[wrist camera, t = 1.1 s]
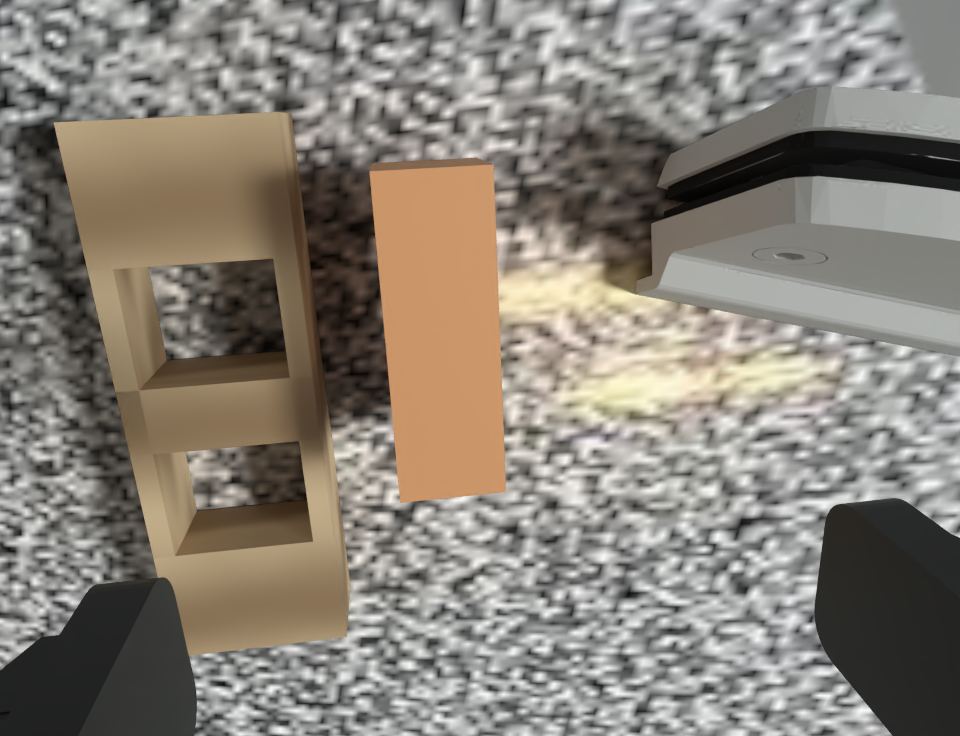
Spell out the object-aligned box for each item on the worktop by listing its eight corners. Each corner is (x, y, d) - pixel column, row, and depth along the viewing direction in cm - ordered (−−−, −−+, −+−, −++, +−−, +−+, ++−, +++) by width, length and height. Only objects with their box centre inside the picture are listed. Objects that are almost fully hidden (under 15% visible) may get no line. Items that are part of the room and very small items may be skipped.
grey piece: (625, 292, 26) (791, 241, 16) (643, 166, 27) (819, 42, 17) (1006, 365, 29) (1339, 359, 20) (1020, 251, 30) (1357, 189, 20)
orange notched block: (374, 158, 24) (369, 171, 17) (464, 152, 24) (493, 164, 17) (397, 409, 27) (400, 502, 20) (477, 401, 27) (505, 491, 20)
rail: (95, 122, 22) (53, 122, 20) (291, 113, 23) (277, 111, 20) (197, 604, 28) (175, 657, 25) (350, 586, 29) (346, 636, 26)
